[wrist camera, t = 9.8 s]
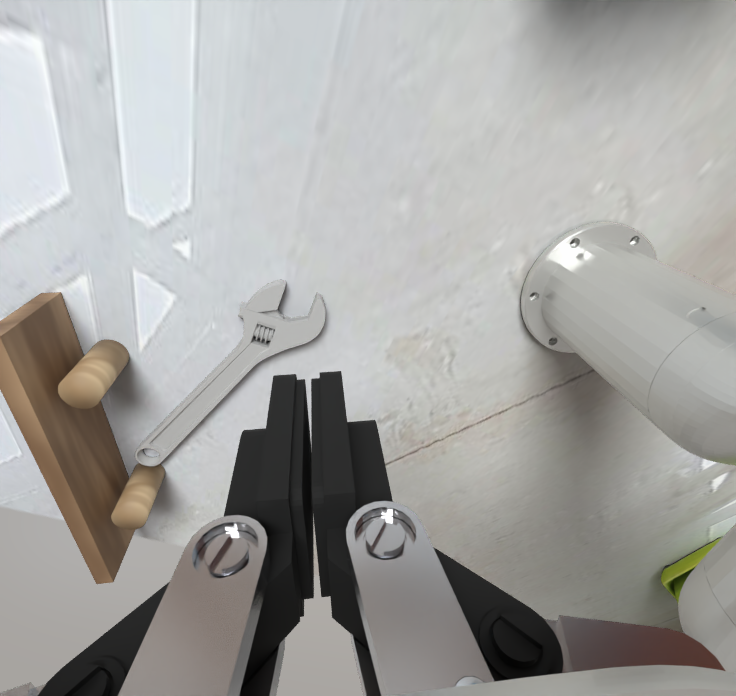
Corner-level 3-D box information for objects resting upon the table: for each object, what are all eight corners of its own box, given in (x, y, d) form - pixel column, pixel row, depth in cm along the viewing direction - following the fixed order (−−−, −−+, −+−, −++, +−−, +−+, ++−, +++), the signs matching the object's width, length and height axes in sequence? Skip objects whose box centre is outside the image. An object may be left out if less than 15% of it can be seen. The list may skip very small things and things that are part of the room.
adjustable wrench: (157, 460, 46) (152, 472, 44) (102, 426, 43) (94, 438, 41) (336, 312, 40) (337, 320, 38) (285, 261, 37) (284, 267, 35)
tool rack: (108, 290, 36) (60, 333, 29) (177, 510, 48) (154, 577, 42) (41, 293, 35) (-26, 338, 28) (127, 515, 48) (96, 583, 41)
